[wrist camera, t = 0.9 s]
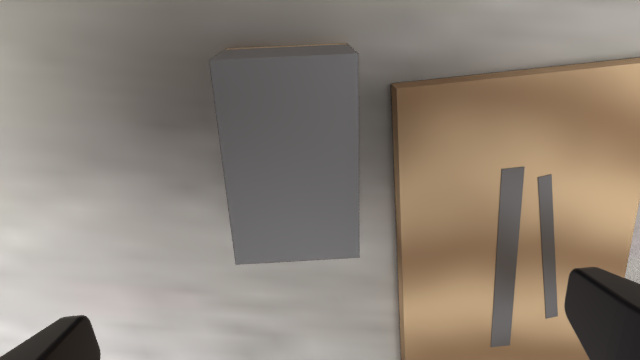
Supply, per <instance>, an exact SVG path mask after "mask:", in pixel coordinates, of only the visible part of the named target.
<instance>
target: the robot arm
mask: <svg viewBox="0 0 640 360" xmlns="http://www.w3.org/2000/svg"><path fill="white" fill-rule="evenodd" d="M564 308H565V313H566V316H567V318H568V320H569V322H570V324H571V326H572V328H573V330H574V332H575V334H576V335H577V337H578V339H579V341H580V343H581V345H582V347H583V349H584V350H585V352H586V354H587V356H588V358H589V360H640V284H638V283H636V282H633V281H631V280H628V279H626V278H623V277H621V276H618V275H616V274H613V273H611V272H608V271H606V270H603V269H601V268H598V267H583V268H575V269H573V270H572V271H571V272H570V274H569V278H568V284H567V290H566V296H565V303H564ZM0 360H100V348H99V345H98V342H97V340H96V337H95V334H94V331H93V328H92V325H91V322H90V320H89V319H88V318H87V317H86V316H84V315H79V316H69V317H63V318H60V319H59V320H57V321H55V322H54V323H52V324H51V325H49V326H48V327H46V328H45V329H43V330H42V331H40V332H38V333H37V334H35V335H34V336H32V337H31V338H29V339H28V340H26V341H25V342H23V343H21V344H20V345H18V346H17V347H15V348H14V349H12V350H11V351H9V352H8V353H6V354H4V355H3V356H1V357H0Z"/></svg>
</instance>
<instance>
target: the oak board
mask: <svg viewBox="0 0 640 360" xmlns="http://www.w3.org/2000/svg"><path fill="white" fill-rule="evenodd" d="M391 93H392V121H393V149H394V176H395V204H396V232H397V260H398V287H399V315H400V343H401V360H589V358H588V356H587V354H586V352H585V350H584V349H583V347H582V345H581V343H580V341H579V339H578V337H577V335H576V334H575V332H574V330H573V328H572V326H571V324H570V322H569V320H568V318H567V316H566V313H565V308H564V303H565V296H566V290H567V284H568V278H569V274H570V272H571V271H572V270H573V269H575V268H583V267H598V268H601V269H603V270H606V271H608V272H611V273H613V274H616V275H618V276H621V277H623V278H624V277H625V272H626V267H627V262H628V257H629V251H630V246H631V241H632V236H633V231H634V225H635V220H636V215H637V210H638V205H639V199H640V58H630V59H621V60H611V61H602V62H592V63H583V64H573V65H563V66H554V67H544V68H535V69H525V70H516V71H506V72H497V73H487V74H478V75H468V76H459V77H449V78H440V79H430V80H421V81H411V82H401V83H392V84H391Z"/></svg>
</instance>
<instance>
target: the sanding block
mask: <svg viewBox="0 0 640 360" xmlns="http://www.w3.org/2000/svg"><path fill="white" fill-rule="evenodd" d="M209 64H210V71H211V79H212V87H213V94H214V102H215V110H216V117H217V125H218V133H219V141H220V148H221V156H222V164H223V171H224V179H225V187H226V194H227V202H228V210H229V217H230V225H231V233H232V241H233V248H234V256H235V264H236V265H239V264H256V263H274V262H291V261H308V260H326V259H343V258H360V244H359V92H358V53H357V52H356V51H355V50H354V49H353V48H352V47H351V46H349V45H348V44H347V43H340V44H318V45H296V46H273V47H251V48H229V49H225V50H223V51H222V52H220V53H219V54H218V55H216V56H215V57H213V58H212V59H210V60H209Z"/></svg>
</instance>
